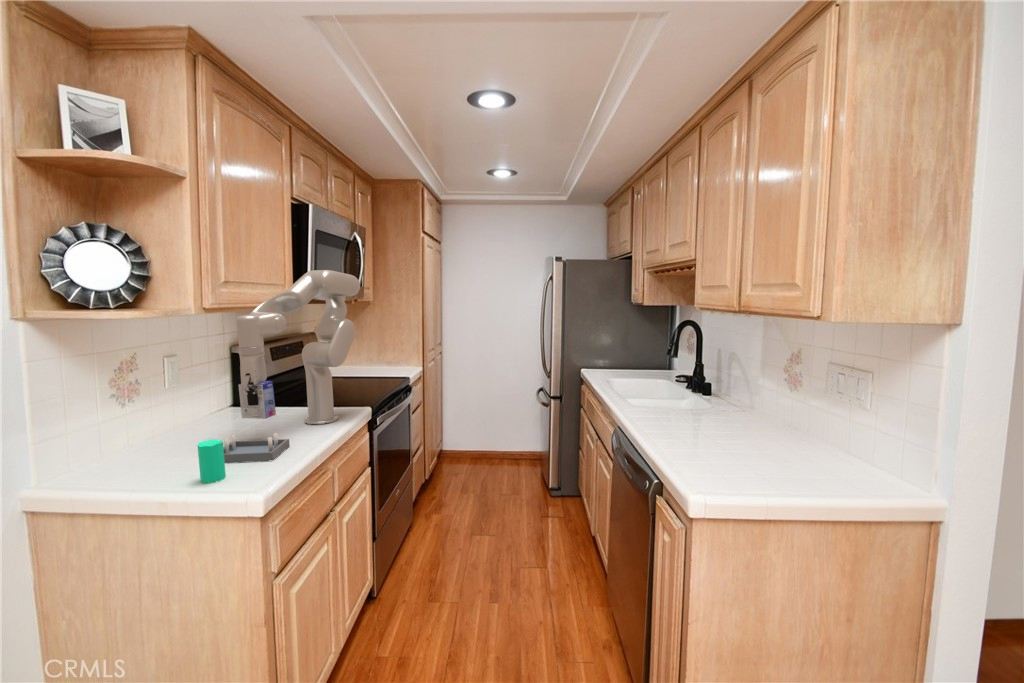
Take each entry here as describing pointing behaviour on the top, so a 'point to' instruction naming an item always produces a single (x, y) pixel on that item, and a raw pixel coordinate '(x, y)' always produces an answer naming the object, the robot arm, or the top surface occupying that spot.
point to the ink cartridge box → (264, 401)
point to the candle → (211, 461)
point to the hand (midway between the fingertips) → (257, 402)
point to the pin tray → (254, 449)
